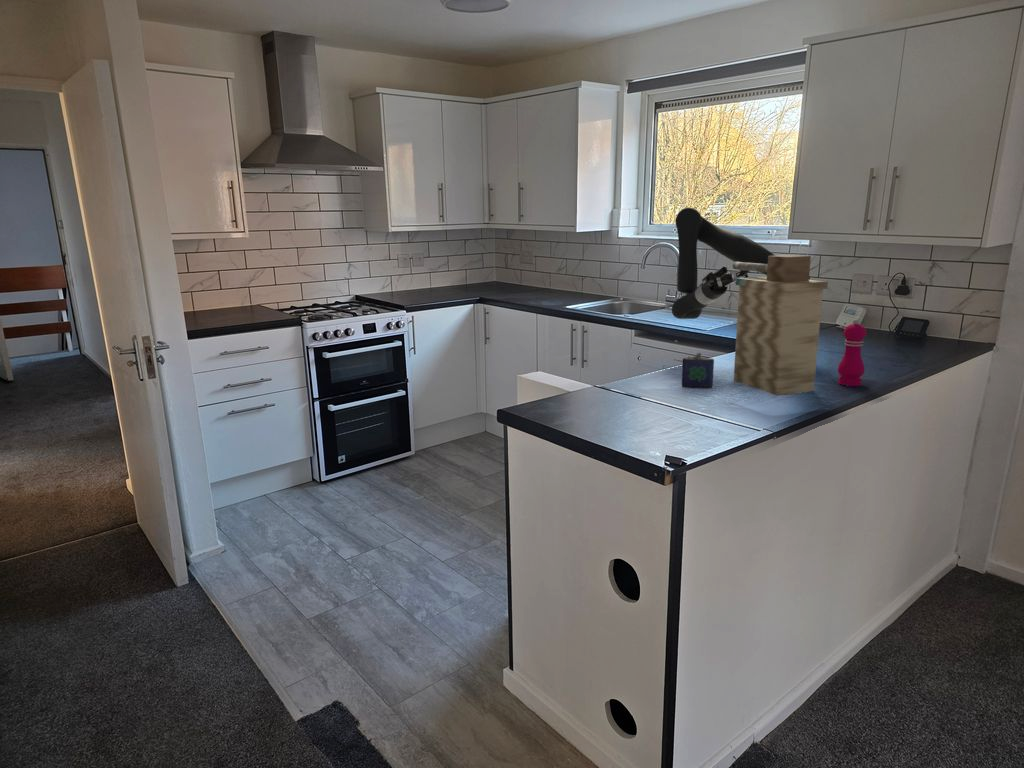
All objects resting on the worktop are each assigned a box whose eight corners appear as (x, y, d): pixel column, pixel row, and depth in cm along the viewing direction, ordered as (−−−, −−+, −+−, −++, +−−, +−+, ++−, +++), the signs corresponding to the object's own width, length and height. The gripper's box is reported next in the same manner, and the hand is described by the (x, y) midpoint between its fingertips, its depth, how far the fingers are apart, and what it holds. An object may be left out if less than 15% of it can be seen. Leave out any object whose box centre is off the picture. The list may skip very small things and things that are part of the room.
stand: (730, 380, 207) (736, 278, 200) (767, 375, 212) (774, 276, 204) (778, 396, 187) (786, 284, 179) (817, 391, 191) (827, 281, 183)
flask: (712, 386, 200) (714, 352, 198) (713, 389, 197) (714, 354, 195) (681, 385, 202) (682, 351, 200) (681, 388, 199) (682, 353, 197)
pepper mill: (830, 382, 201) (837, 318, 196) (848, 380, 204) (855, 316, 199) (850, 388, 194) (857, 321, 190) (868, 385, 197) (875, 319, 192)
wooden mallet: (724, 275, 210) (725, 253, 208) (745, 274, 212) (746, 252, 210) (785, 282, 184) (787, 257, 182) (808, 281, 186) (810, 256, 185)
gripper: (689, 281, 223) (715, 258, 208) (725, 278, 227) (753, 256, 212) (695, 301, 221) (721, 280, 206) (731, 298, 225) (759, 277, 211)
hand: (737, 268), depth 209 cm, fingers open, 8 cm apart
